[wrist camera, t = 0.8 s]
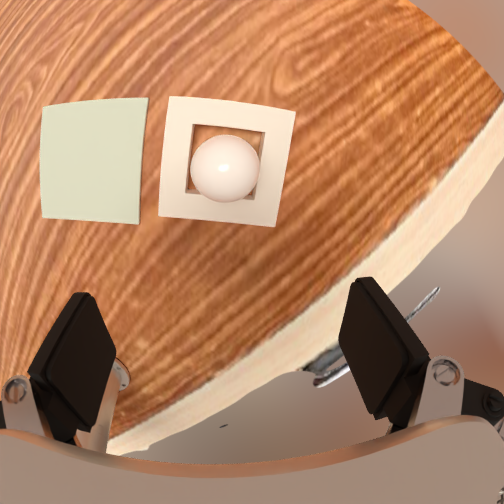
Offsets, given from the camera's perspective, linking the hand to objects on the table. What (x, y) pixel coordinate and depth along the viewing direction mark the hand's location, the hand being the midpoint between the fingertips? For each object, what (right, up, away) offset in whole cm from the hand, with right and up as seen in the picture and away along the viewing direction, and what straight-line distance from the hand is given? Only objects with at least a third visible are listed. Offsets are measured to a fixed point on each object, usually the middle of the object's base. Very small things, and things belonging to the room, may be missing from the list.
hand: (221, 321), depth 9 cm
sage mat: (-20, +14, +19) cm, 31 cm away
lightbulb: (-2, +13, +22) cm, 26 cm away
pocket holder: (-2, +13, +22) cm, 26 cm away
